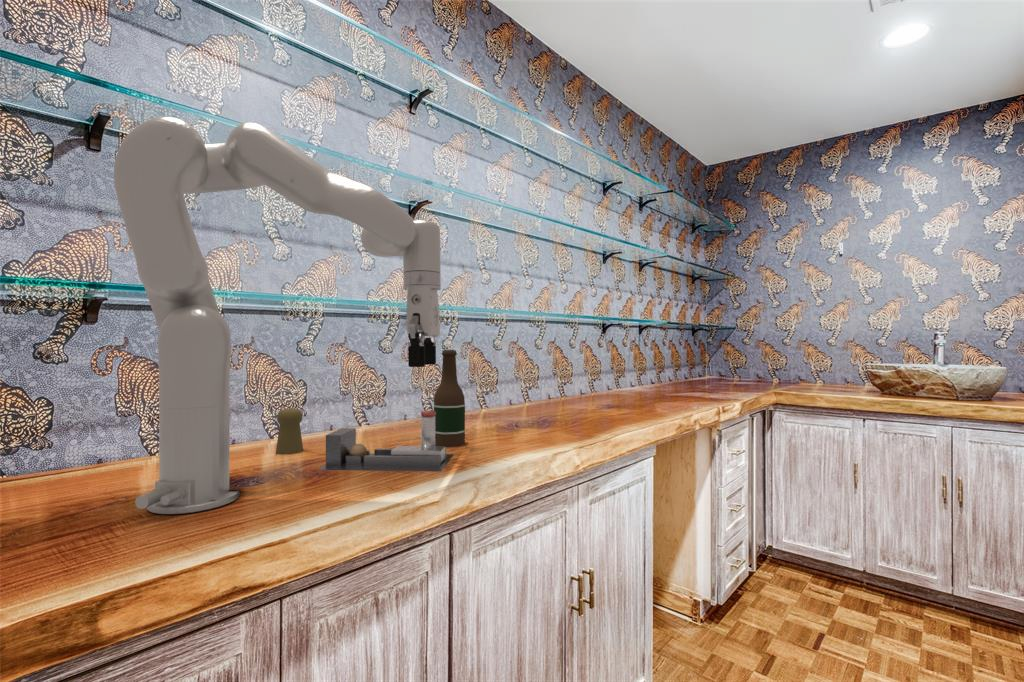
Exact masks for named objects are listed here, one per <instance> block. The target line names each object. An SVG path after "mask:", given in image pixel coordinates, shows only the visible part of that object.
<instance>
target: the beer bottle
mask: <svg viewBox="0 0 1024 682" xmlns="http://www.w3.org/2000/svg"><path fill="white" fill-rule="evenodd" d="M441 355H442V367H441V368H442V369H441V378H440V379H441V380H440V383H439V386H438V387H437V389H436V390H435V393H434V397H433V411H436V415H435V446H440V447H445V448H457V447H461V446H464V445H465V443H466V401H465V395H464V392H463V390H462V387H461V386H460V384H459V382H458V377H457V376H458V373H457V356H458V353H457V350H455V349H444V350H442V351H441Z"/></svg>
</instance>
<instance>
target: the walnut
mask: <svg viewBox="0 0 1024 682" xmlns="http://www.w3.org/2000/svg"><path fill="white" fill-rule="evenodd" d="M367 450H368V449H367V447H366V446H365V445H364V444H362V443H356V444H355V445H353V446H352V447H351V448H350V451H349V455H360V456H362V460H363V459H364V456H366V455H367Z"/></svg>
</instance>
